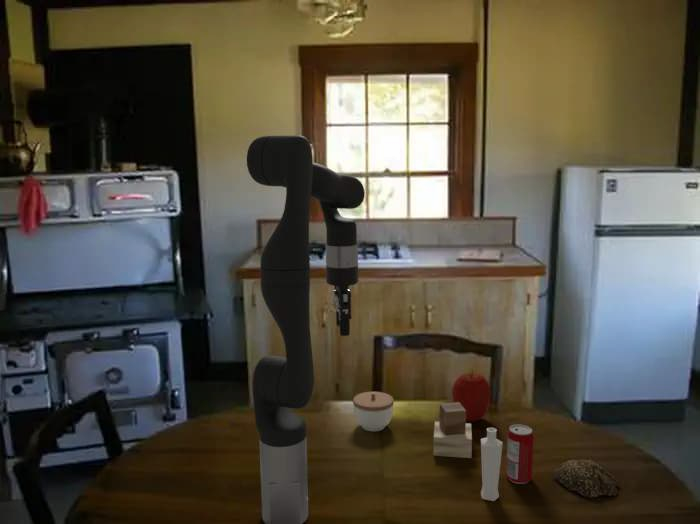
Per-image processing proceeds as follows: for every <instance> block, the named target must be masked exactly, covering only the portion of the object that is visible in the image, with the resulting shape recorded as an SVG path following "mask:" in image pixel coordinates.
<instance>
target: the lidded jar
mask: <svg viewBox="0 0 700 524" xmlns="http://www.w3.org/2000/svg"><path fill="white" fill-rule="evenodd" d="M394 401H395V399H394V397H393V396H392V395H391V394H388V393H387V392H386V393H385V392H382V391H366V392H365V391H364V392H360V393H358V394H356V395H355V396H354V397H353V399H352V404H353V413H354V417H355V421H356V422H357V423H358V424H359V426H361V428H362V429H363V430H364V431H366V432H380V431H383V430H384V429H385V427H386V426H387V425H389V423H390V422H391V420H392V417H393V413H394V405H395V402H394Z"/></svg>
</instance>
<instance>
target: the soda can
mask: <svg viewBox="0 0 700 524" xmlns="http://www.w3.org/2000/svg"><path fill="white" fill-rule="evenodd" d="M506 441H507V442H506V468H505V469H506V470H505V471H506V472H505V476H506V478H507V479H508V480H509V481H510V482H512V483H513V484H520V485H525V484H528V483H529V482H530V481H531V480H532V479H533V462H534V461H533V457H534V434H533V429H532V428H531V427H529V426H528V425H524V424H520V423H519V424H512V425H510V426H509V428H508V432H507V440H506Z"/></svg>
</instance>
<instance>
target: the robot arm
mask: <svg viewBox="0 0 700 524" xmlns="http://www.w3.org/2000/svg"><path fill="white" fill-rule="evenodd" d="M310 143H311V142H310V141H309V140H308V138H307V137H305V136H303V135H298V134H297V135H296V134H295V135H293V134H292V135H291V134H289V135H284V134H283V135H265V136H264V135H263V136H259V137H257V138H255V139H254V140H253V141H252V142H251V143H250V144H249V147H248V150H247V152H246V167H247V171H248V174H249V175H250V177H251V178H252V179H253V181H254V182H256V183H258V184H259V185H261V186H267V187H283V188H285V189H286V193H285V203H284V209H283V213H282V214H281V217H280V220H279V222H278V224H277V226H276V227H275V229H274V231H273V232H272V234H271V235H270V237H269V239H268V241H267V242H266V245H265V246H264V248H263V251H262V253H261V255H260V256H261V258H260V291H261V295H262V298H263V301H264V303H265V305H266V306H267V309H268V310H269V312H270V314H271V316H272V318H273V320H274V321H275V323H276V324H277V327H278V328H279V330H280V333H281V335H282V336H281V337H282V339H283V342H284V349H285V356H284V357H283V356H277V355H266V356H263V357H262V358H260V359H259V361H258V362H257V363H256V365H255V367H254V370H253V376H252V389H251V390H252V399H253V410H254V411H253V412H254V419H255V427H256V429H257V430H258V433H259V434H258V439H259V461H260V462H259V463H260V464H259V466H260V467H259V468H260V469H259V470H260V489H261V490H260V491H261V494H260V495H261V512H262V513H261V516H262V517H261V518H262V522H264V524H304V523H305V522H306V521H307V519H308V517H309V495H308V494H309V493H308V488H309V487H308V460H307V459H308V453H307V452H308V451H307V448H308V447H307V442H308V441H307V425H306V422H305V419H304V418H303V417H301V416H300V415H298V414H297V413H295V412H294V411H293V410H292V409H297V410H298V409H303V408H305V407H306V406H308V404H309V402H310V401H311V399H312V395H313V391H314V383H315V382H314V381H315V374H314V373H315V372H314V359H313V350H312V349H313V348H312V337H311V325H310V324H311V322H310V321H311V320H310V316H311V315H310V293H311V292H310V290H311V289H310V288H311V285H310V284H311V278H310V277H311V269H310V268H311V267H310V266H311V265H310V264H311V262H310V261H311V260H310V213H311V212H310V211H311V210H310V209H311V200H312V199H311V198H313V199H316V200H317V201H318V202H319V204H320V208H321V212H322V215H323V219H324V223H325V229H326V250H325V274H326V275H325V278H326V279H325V280H326V284H328V285H330V286H333V287H334V290H332V294H333V305H334V310H335V315H336V319H335V320H336V321H335V322H336V323H335V324H336V326H338V327H339V334H340V336H341V337H346V336H347V337H349V336H350V332H351V331H350V328H351V327H350V320H352V297H353V296H352V292H351V289H349V287H350V286H354V285H356V284H358V283H359V252H358V245H357V243H358V241H357V239H358V238H357V237H358V236H357V223H356V221H355V220H353V219H351V218H347V217H344V216H342V215H341V214H340V212H339V210H338V209H346V210H348V209H349V210H350V209H352V210H353V209H356V208H358V207H360V206H361V205H362V203H363V202H364V200H365V196H366V195H365V188H364V185H363V184H362V182H361V180H360V179H358V178H357V177H354V176H353V175H352V176H351V175H346V174H343V173H338V172H336V171H334V170H332V169H331V168H329V167H327V166H325V165H322V164H319V163H316V162H314V161H313V150H312V146H311V144H310ZM346 312H347V313H346Z"/></svg>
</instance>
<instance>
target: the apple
mask: <svg viewBox="0 0 700 524" xmlns="http://www.w3.org/2000/svg"><path fill="white" fill-rule="evenodd" d="M473 372H474V371H473V370H472V371H471V373H469V372H468V373H464V374H461V375H460V376H459V377H458V378H456V380H455V381H454V383H453V385H452V387H451V391H452V392H451V393H452V402H453V403H455V402H460V404H461V405H462V406H463V407H464V409H465V410H466V422H469V423H471V422H472V423H473V422H478V421H479V420H481V419H482V418H483V417H484V416H485V415H486V413H487V411H488V408H489V406H490V403H491V397H492V391H491V387H490V384H489V381H488V380H487V378H486V377H485V376H484V375H482V374H478V373H473Z"/></svg>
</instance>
